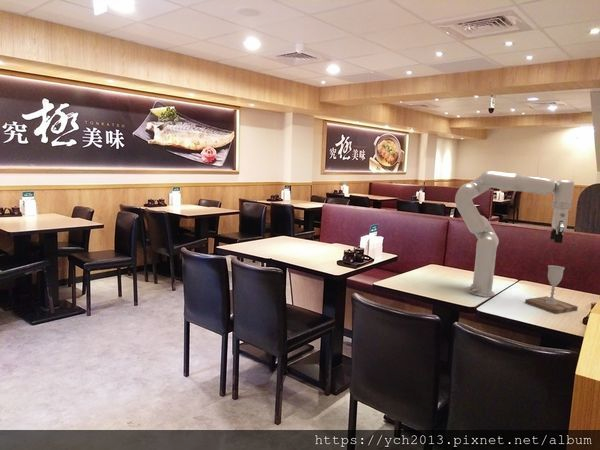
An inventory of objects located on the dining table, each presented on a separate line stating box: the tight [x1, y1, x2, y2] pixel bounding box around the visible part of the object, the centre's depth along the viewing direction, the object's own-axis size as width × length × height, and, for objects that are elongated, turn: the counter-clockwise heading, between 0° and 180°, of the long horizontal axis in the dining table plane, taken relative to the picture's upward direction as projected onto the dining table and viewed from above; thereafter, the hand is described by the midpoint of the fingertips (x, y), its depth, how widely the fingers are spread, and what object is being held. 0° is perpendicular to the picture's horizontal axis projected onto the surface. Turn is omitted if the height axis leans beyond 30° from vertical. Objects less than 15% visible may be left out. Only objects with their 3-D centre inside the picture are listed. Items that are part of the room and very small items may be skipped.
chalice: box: [545, 265, 566, 304], centre depth 208 cm, size 7×7×18 cm
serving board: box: [524, 295, 579, 315], centre depth 209 cm, size 16×16×2 cm
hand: (555, 241), depth 207 cm, fingers open, 9 cm apart
